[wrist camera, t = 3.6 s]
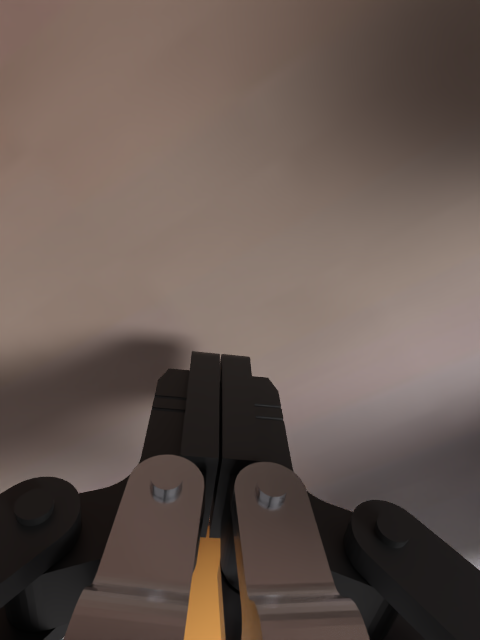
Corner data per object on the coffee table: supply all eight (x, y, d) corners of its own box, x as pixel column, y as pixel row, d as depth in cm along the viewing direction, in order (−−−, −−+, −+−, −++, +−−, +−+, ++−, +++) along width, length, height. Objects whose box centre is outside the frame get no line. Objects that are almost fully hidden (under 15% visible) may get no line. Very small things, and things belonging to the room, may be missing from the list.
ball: (120, 485, 15) (73, 669, 10) (271, 494, 16) (293, 674, 11) (119, 575, 18) (81, 756, 13) (249, 581, 18) (259, 757, 14)
